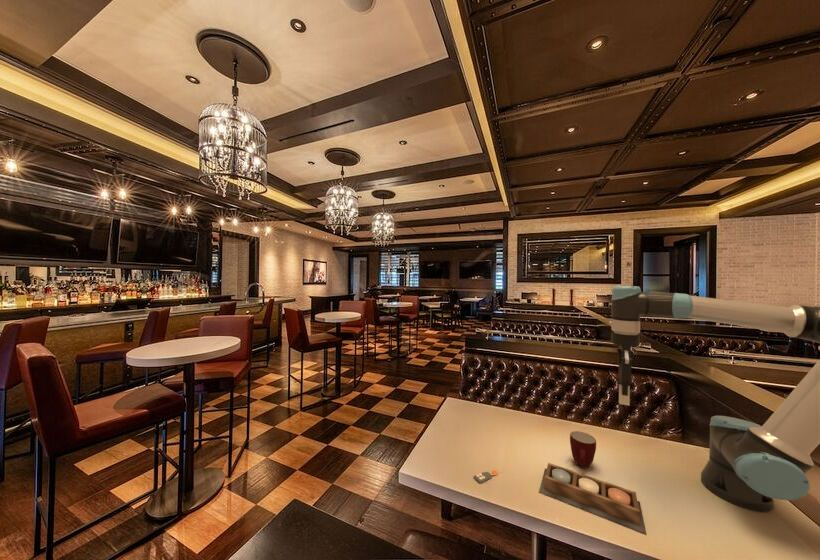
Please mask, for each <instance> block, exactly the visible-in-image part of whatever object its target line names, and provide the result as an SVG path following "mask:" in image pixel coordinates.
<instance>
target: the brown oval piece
mask: <svg viewBox="0 0 820 560" xmlns="http://www.w3.org/2000/svg"><path fill="white" fill-rule="evenodd" d="M608 498H609V499H612V500H614V501H617V502H620V503H623V504H625V505H628V506H630V497H629V495H628V494H627V493H625V492H624V491H622V490H620V489H617V488H609V489H608Z"/></svg>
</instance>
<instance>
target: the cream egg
mask: <svg viewBox="0 0 820 560" xmlns="http://www.w3.org/2000/svg"><path fill="white" fill-rule="evenodd" d="M579 488H581V489H584V490H587V491H590V492H592V493H595V494H598V495H599V486H598V484H597V483H596V482H594V481H593V480H591V479H588V478H580V479H579Z"/></svg>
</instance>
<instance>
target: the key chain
mask: <svg viewBox="0 0 820 560" xmlns="http://www.w3.org/2000/svg"><path fill="white" fill-rule="evenodd" d="M499 474H502V472H501V471H496V470H492V471H491V473H490V472H489V471H483V472H482V473H480V472H479V473H478V474H475V475H473V480H475V481H476V482H477V483H478V484H480V485H482V484H484V483H486V482H488V481H490V480H491V479H492V478H493V476H499Z"/></svg>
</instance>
